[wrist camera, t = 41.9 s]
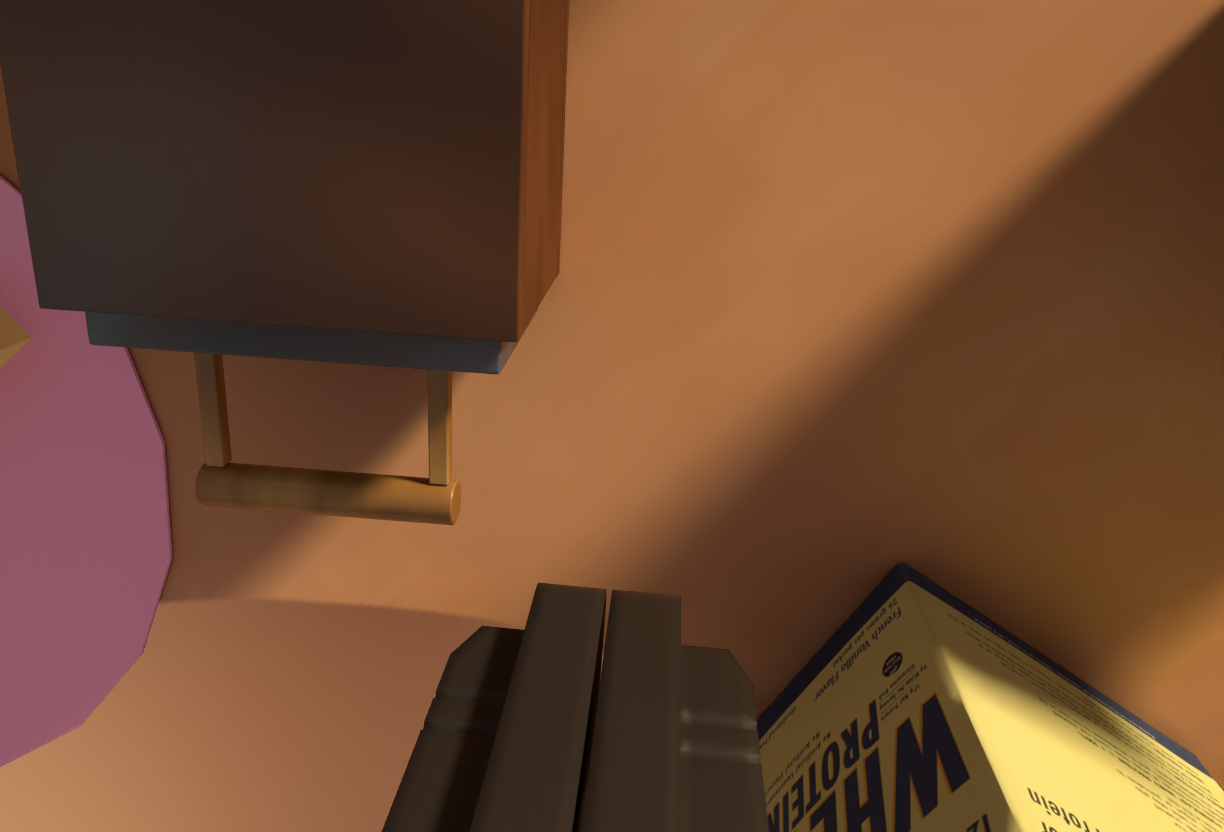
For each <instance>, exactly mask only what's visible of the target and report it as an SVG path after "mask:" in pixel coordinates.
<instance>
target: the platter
mask: <svg viewBox="0 0 1224 832" xmlns="http://www.w3.org/2000/svg"><path fill="white" fill-rule="evenodd" d="M171 560H172V542H171V527H170V512H169V497H168V482H167V467H166V452H165V441H164V438H163V436H162V433H161V431H160V428H159V426H158V423H157V421H156V418H155V416H154V413H153V411H152V408H151V406H150V403H149V401H148V398H147V395H146V393H145V390H144V388H143V385H142V383H141V380H140V378H139V375H138V373H137V370H136V368H135V365H134V363H133V360H132V358H131V355H130V352H129V350H128V348H127V347H113V346H99V345H91V344H90V343H89V338H88V331H87V324H86V317H85V312H81V311H67V310H53V309H41V308H40V307H39V302H38V295H37V289H36V283H35V277H34V270H33V264H32V258H31V252H30V245H29V239H28V233H27V227H26V220H25V214H24V208H23V201H22V195H21V192H20V191H19V190H18V189H17V188H15V187H14V186H13V185H12V184H10V183H9V182H8V181H7V180H5V179H4V178H3V177H2V176H0V767H1V766H3V765H5V764H7V763H9V762H11V761H13V760H15V759H16V758H19V757H20V756H22V755H24V754H26V753H28V752H30V751H32V750H34V749H36V748H38V747H40V746H42V745H44V744H46V743H48V742H50V741H52V740H54V739H55V738H58V737H59V736H61V735H63V734H65V733H67V732H69V731H71V730H73V729H75V728H77V727H79V726H81V725H82V724H83V723H84V721H85V720H86V719H87V718H88V717H89V716H90V714H91V713H92V712H93V711H94V710H95V708H96V707H97V706H98V705H99V704H100V703H101V701H102V700H103V699H104V698H105V697H106V696H107V694H108V693H109V692H110V691H111V690H112V689H113V687H114V686H115V685H116V684H117V683H118V681H119V680H120V679H121V678H122V677H123V675H124V674H125V673H126V672H127V671H128V670H129V668H130V667H131V666H132V665H133V664H134V663H135V662H136V660H137V659H138V658H139V657H140V656H141V655H142V653H143V651H144V648H145V645H146V641H147V638H148V635H149V632H150V628H151V625H152V622H153V618H154V615H155V612H156V609H157V606H158V603H159V599H160V596H161V593H162V590H163V586H164V583H165V580H166V577H167V573H168V570H169V567H170V564H171Z"/></svg>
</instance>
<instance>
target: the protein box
mask: <svg viewBox="0 0 1224 832" xmlns="http://www.w3.org/2000/svg"><path fill="white" fill-rule="evenodd" d="M756 730H757V731H758V738H759V746H760V755H761V756H760V764H762V773H763V782H764V791H765V799H766V808H767V817H768V826H769V832H1224V792H1223V791H1222V789H1221V788H1220V787H1219V786H1218V784H1217V783H1216V782H1215V781H1214V779H1213V778H1212V777H1211V775H1210V774H1209V773H1208V771H1207V770H1206V768H1205V767H1204V766H1203V764H1202V763H1201V762H1200V760H1199V759H1198V758H1197V757H1196V756H1195V755H1194V754H1192V753H1191V752H1189V751H1188V750H1186V749H1184V748H1183V747H1181V746H1180V745H1178V744H1177V743H1175V742H1174V741H1172V740H1171V739H1169V738H1168V737H1166V736H1165V735H1163V734H1162V733H1160V732H1159V731H1157V730H1156V729H1154V728H1153V727H1151V726H1150V725H1148V724H1147V723H1145V722H1144V721H1142V720H1141V719H1139V718H1138V717H1136V716H1135V715H1133V714H1132V713H1130V712H1129V711H1127V710H1126V709H1124V708H1123V707H1121V706H1120V705H1118V704H1117V703H1115V702H1114V701H1113V700H1111V699H1110V698H1108V697H1107V696H1105V695H1104V694H1102V693H1101V692H1099V691H1098V690H1096V689H1095V688H1093V687H1092V686H1090V685H1089V684H1087V683H1086V682H1084V681H1082V680H1081V679H1079V678H1078V677H1076V676H1075V675H1073V674H1072V673H1070V672H1069V671H1067V670H1066V669H1064V668H1063V667H1061V666H1060V665H1058V664H1057V663H1055V662H1054V661H1052V660H1050V659H1049V658H1047V657H1046V656H1044V655H1043V654H1041V653H1040V652H1038V651H1037V650H1035V649H1034V648H1032V647H1031V646H1029V645H1028V644H1026V643H1025V642H1023V641H1022V640H1020V639H1019V638H1017V637H1016V636H1014V635H1013V634H1011V633H1010V632H1008V631H1007V630H1005V629H1004V628H1002V627H1001V626H999V625H998V624H996V623H994V622H993V621H991V620H990V619H988V618H987V617H985V616H984V615H982V614H981V613H979V612H978V611H976V610H975V609H973V608H972V607H970V606H969V605H967V604H966V603H964V602H963V601H961V600H960V599H958V598H957V597H955V596H953V595H952V594H950V593H949V592H947V591H946V590H944V589H943V588H941V587H940V586H938V585H937V584H935V583H934V582H932V581H931V580H929V579H928V578H926V577H925V576H923V575H921V574H920V573H918V572H917V571H915V570H914V569H912V568H911V567H909V566H908V565H906V564H904V563H898V565H897V566H896V567H895V568H894V569H893V570H892V571H891V573H890V574H889V575H888V576H887V577H886V578H885V579H884V580H883V582H882V583H881V584H880V585H879V586H878V587H877V588H876V589H875V590H874V591H873V592H872V594H871V595H870V596H869V597H868V598H867V599H866V600H865V601H864V602H863V603H862V605H861V606H860V607H859V608H858V609H857V610H856V611H855V612H854V613H853V615H852V616H851V617H850V618H849V619H848V620H847V621H846V622H845V623H844V624H843V625H842V626H841V627H840V628H839V630H838V631H837V632H836V633H835V634H834V635H833V636H832V637H831V639H830V640H829V641H828V642H827V643H826V644H825V645H824V646H823V647H822V649H821V650H820V651H819V652H818V653H817V654H816V655H815V656H814V657H813V658H812V660H811V661H810V662H809V663H808V664H807V665H806V666H805V667H804V668H803V669H802V670H801V671H800V673H799V674H798V675H797V676H796V677H795V679H794V680H793V681H792V682H791V683H790V684H789V685H788V686H787V688H786V689H785V690H784V691H783V692H782V693H781V694H780V695H779V696H778V698H777V699H776V700H775V701H774V702H773V703H772V704H771V705H770V706H769V708H768V709H767V710H766V711H765V712H764V713H763V714H762V715H761V717H760V718H759V719H758V720H757V726H756Z"/></svg>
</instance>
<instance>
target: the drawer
mask: <svg viewBox="0 0 1224 832" xmlns="http://www.w3.org/2000/svg"><path fill="white" fill-rule="evenodd" d="M536 312H537V309H536V311H535V313H534V314H533V316H532V318H531V319H530V321H529V322H528V324H527V326H526V327H525V329H524V331H523V332H522V335H521V337H522V336H523V334H524V332H525V331H526V329H527V327H528V326H529V324H530V322H531V321H532V319H533V317H534V316H535V314H536ZM85 317H86V324H87V331H88V338H89V343H90V344H91V345H99V346H113V347H127V348H140V349H154V350H168V351H182V352H194V354H195V363H196V373H197V383H198V392H199V402H200V412H201V422H202V431H203V441H204V451H205V460H206V463H204V464H203V465H202V467H201V468H200V470H199V472H198V475H197V480H196V496H197V499H198V501H199V502H200V504H202V505H204V506H216V507H229V508H241V509H254V510H267V511H279V512H292V513H304V514H317V515H329V516H342V517H355V518H367V519H380V520H392V521H405V522H418V523H430V524H443V525H454V524H455V523H456V521H457V519H458V516H459V511H460V504H461V487H460V483H459V481H457V480H451V478H452V371H458V372H471V373H485V374H500V372H501V370H502V369H503V367H504V365H505V364H506V362H507V360H508V359H509V357H510V355H511V354H512V352H513V350H514V349H515V347H516V345H517V344H518V342H519V341H520V339H521V337H520V338H519V340H518V342H504V341H490V340H476V339H462V338H447V337H433V336H419V335H405V334H391V333H377V332H363V331H349V330H335V329H321V328H307V327H293V326H279V325H264V324H250V323H236V322H222V321H208V320H194V319H180V318H166V317H152V316H138V315H124V314H110V313H95V312H85ZM222 354H223V355H237V356H251V357H264V358H278V359H292V360H306V361H320V362H333V363H347V364H361V365H375V366H389V367H402V368H416V369H428V436H429V478H420V477H407V476H394V475H382V474H369V473H356V472H343V471H330V470H317V469H304V468H291V467H278V466H265V465H252V464H239V463H230V462H231V460H232V458H231V447H230V436H229V425H228V414H227V404H226V393H225V382H224V371H223V360H222Z"/></svg>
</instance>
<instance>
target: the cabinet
mask: <svg viewBox="0 0 1224 832" xmlns="http://www.w3.org/2000/svg"><path fill="white" fill-rule="evenodd" d="M568 18H569V0H0V64H1V70H2V76H3V83H4V89H5V95H6V101H7V108H8V114H9V120H10V126H11V133H12V139H13V145H14V151H15V158H16V164H17V170H18V176H19V183H20V189H21V195H22V201H23V208H24V214H25V220H26V227H27V233H28V239H29V245H30V252H31V258H32V264H33V270H34V277H35V283H36V289H37V295H38V302H39V307H40V308H41V309H53V310H67V311H81V312H95V313H110V314H124V315H138V316H152V317H166V318H180V319H194V320H208V321H222V322H236V323H250V324H264V325H279V326H293V327H307V328H321V329H335V330H349V331H363V332H377V333H391V334H405V335H419V336H433V337H447V338H462V339H476V340H490V341H504V342H518V340H519V338H520V337H521V335H522V332H523V331H524V329H525V327H526V326H527V324H528V322H529V321H530V319H531V318H532V316H533V314H534V313H535V311H536V309H537V308H538V306H539V304H540V303H541V301H542V300H543V298H544V296H545V295H546V293H547V291H548V290H549V288H550V286H551V285H552V283H553V282H554V280H555V278H556V277H557V276H558V274H559V267H560V239H561V211H562V184H563V156H564V128H565V101H566V73H567V45H568Z"/></svg>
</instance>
